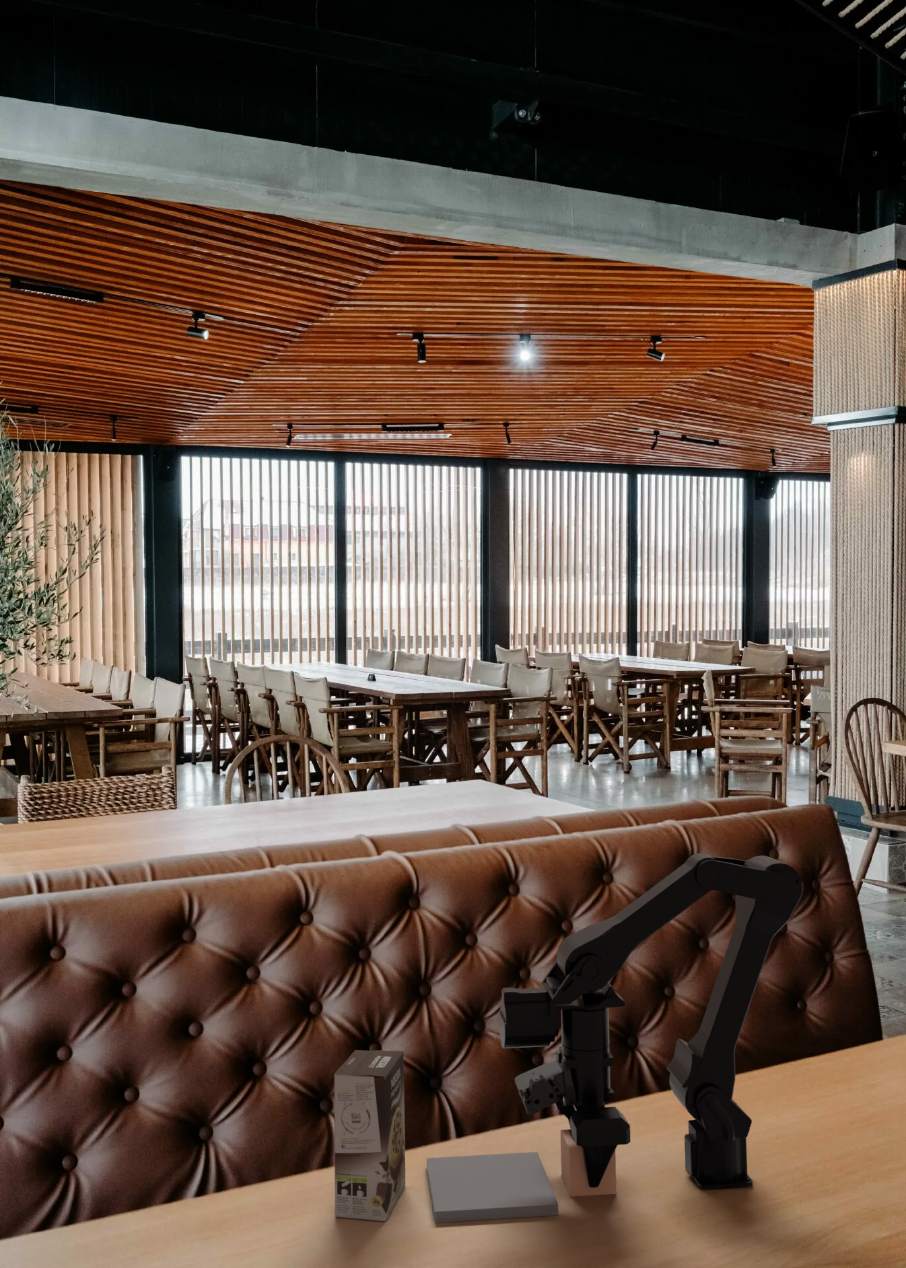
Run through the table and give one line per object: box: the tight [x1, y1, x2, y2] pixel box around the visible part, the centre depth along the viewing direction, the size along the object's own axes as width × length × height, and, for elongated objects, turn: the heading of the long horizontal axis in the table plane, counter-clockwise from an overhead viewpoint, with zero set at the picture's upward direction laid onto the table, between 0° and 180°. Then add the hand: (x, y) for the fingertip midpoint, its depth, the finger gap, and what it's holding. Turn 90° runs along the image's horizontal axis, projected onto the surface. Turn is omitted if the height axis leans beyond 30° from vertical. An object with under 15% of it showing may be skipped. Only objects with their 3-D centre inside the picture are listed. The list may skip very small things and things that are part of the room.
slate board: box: [426, 1151, 559, 1224], centre depth 130 cm, size 14×14×1 cm
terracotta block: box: [560, 1128, 617, 1198], centre depth 131 cm, size 6×6×6 cm
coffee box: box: [333, 1049, 406, 1222], centre depth 128 cm, size 9×6×16 cm
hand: (588, 1175), depth 131 cm, fingers closed on terracotta block, 5 cm apart
